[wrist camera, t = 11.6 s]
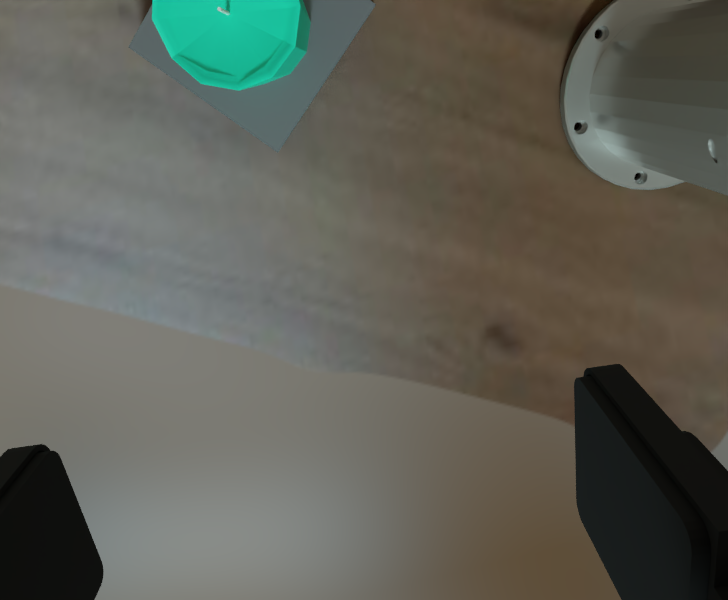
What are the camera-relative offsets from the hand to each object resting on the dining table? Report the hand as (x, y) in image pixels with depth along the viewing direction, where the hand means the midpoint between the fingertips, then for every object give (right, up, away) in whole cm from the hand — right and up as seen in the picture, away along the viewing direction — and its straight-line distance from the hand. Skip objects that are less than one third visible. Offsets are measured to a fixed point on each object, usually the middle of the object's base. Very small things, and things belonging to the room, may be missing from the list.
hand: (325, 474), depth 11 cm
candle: (-5, +19, +23) cm, 30 cm away
